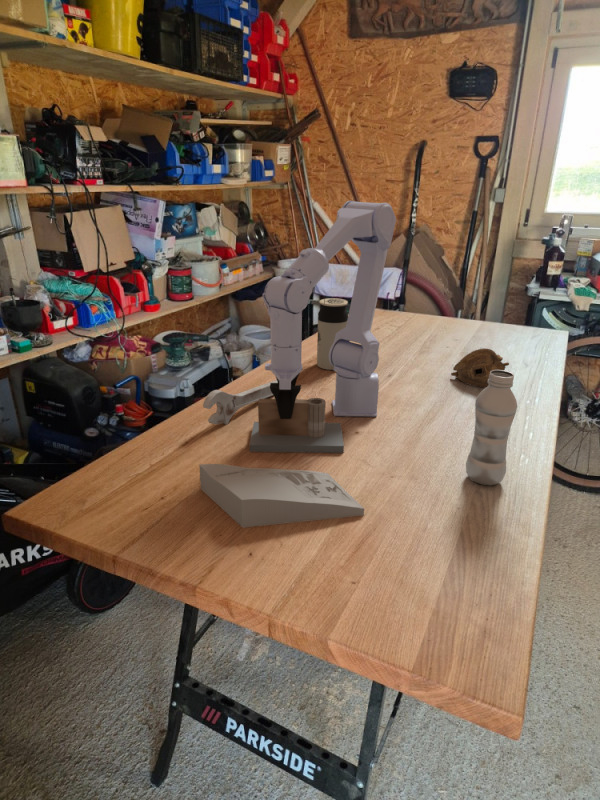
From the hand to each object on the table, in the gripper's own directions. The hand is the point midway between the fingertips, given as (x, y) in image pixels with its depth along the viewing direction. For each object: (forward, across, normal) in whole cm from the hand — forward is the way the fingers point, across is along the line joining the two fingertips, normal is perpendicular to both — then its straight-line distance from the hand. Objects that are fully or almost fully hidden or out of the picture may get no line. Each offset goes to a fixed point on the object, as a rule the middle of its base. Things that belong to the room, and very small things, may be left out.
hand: (286, 409), depth 103 cm
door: (+5, 0, +1) cm, 5 cm away
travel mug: (+7, -44, +11) cm, 46 cm away
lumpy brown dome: (+8, -39, +52) cm, 66 cm away
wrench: (+7, -15, -8) cm, 19 cm away
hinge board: (+7, 0, +2) cm, 7 cm away
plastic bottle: (+7, +14, +35) cm, 38 cm away
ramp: (+7, +22, 0) cm, 23 cm away
